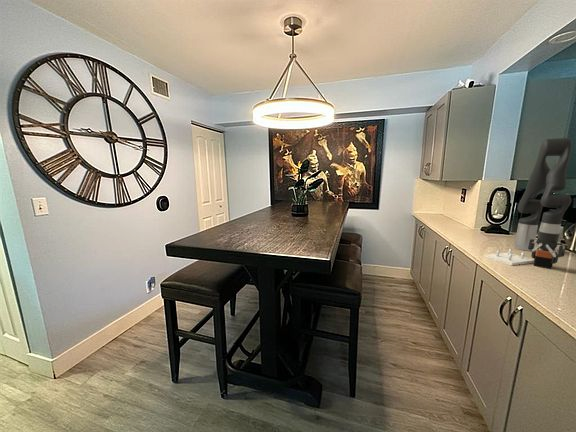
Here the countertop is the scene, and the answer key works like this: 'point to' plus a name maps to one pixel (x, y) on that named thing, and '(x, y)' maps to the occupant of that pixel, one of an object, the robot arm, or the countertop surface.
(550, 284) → the countertop surface
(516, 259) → the pin dock
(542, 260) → the battery
